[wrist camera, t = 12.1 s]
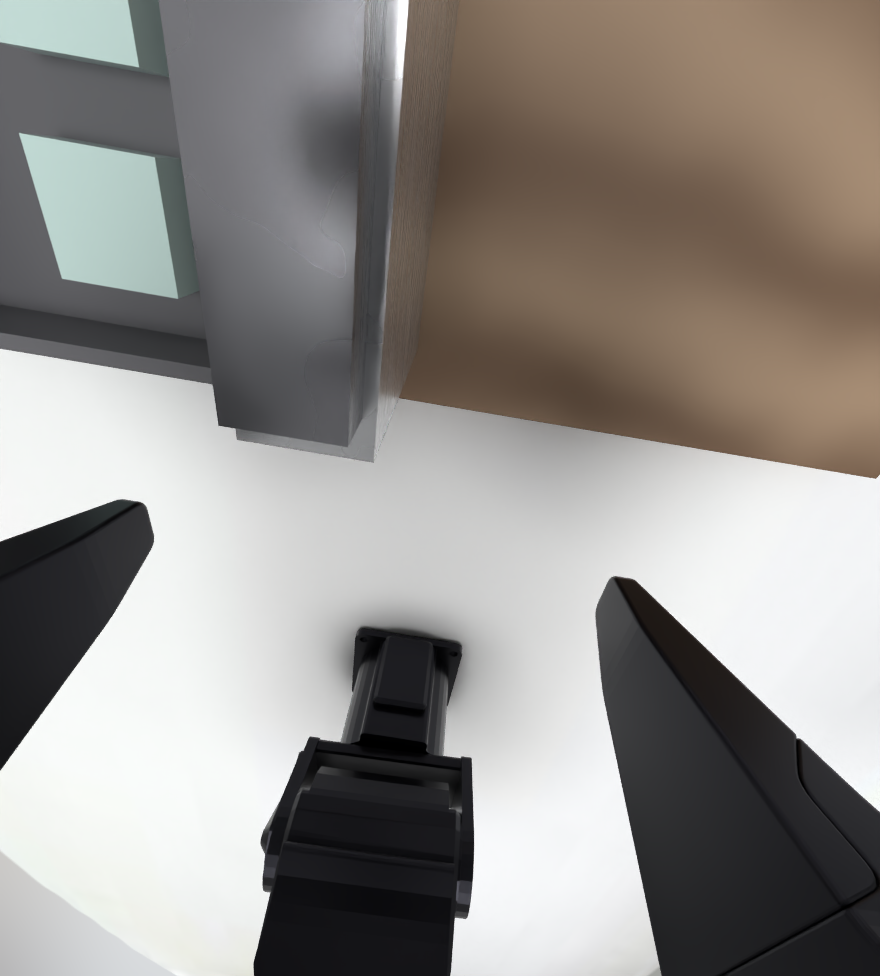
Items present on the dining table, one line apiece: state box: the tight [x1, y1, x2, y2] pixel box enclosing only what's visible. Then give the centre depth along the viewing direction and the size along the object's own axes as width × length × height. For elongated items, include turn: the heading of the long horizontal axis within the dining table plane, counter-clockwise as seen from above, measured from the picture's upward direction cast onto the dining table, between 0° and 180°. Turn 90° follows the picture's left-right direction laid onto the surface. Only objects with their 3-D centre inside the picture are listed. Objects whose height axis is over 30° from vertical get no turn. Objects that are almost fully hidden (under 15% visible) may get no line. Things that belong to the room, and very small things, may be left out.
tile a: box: [19, 133, 199, 299], centre depth 15 cm, size 4×4×2 cm
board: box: [399, 0, 880, 479], centre depth 15 cm, size 14×25×2 cm, turn 82°
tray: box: [0, 43, 213, 384], centre depth 14 cm, size 14×11×3 cm
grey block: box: [158, 0, 459, 463], centre depth 10 cm, size 10×3×9 cm, turn 172°
